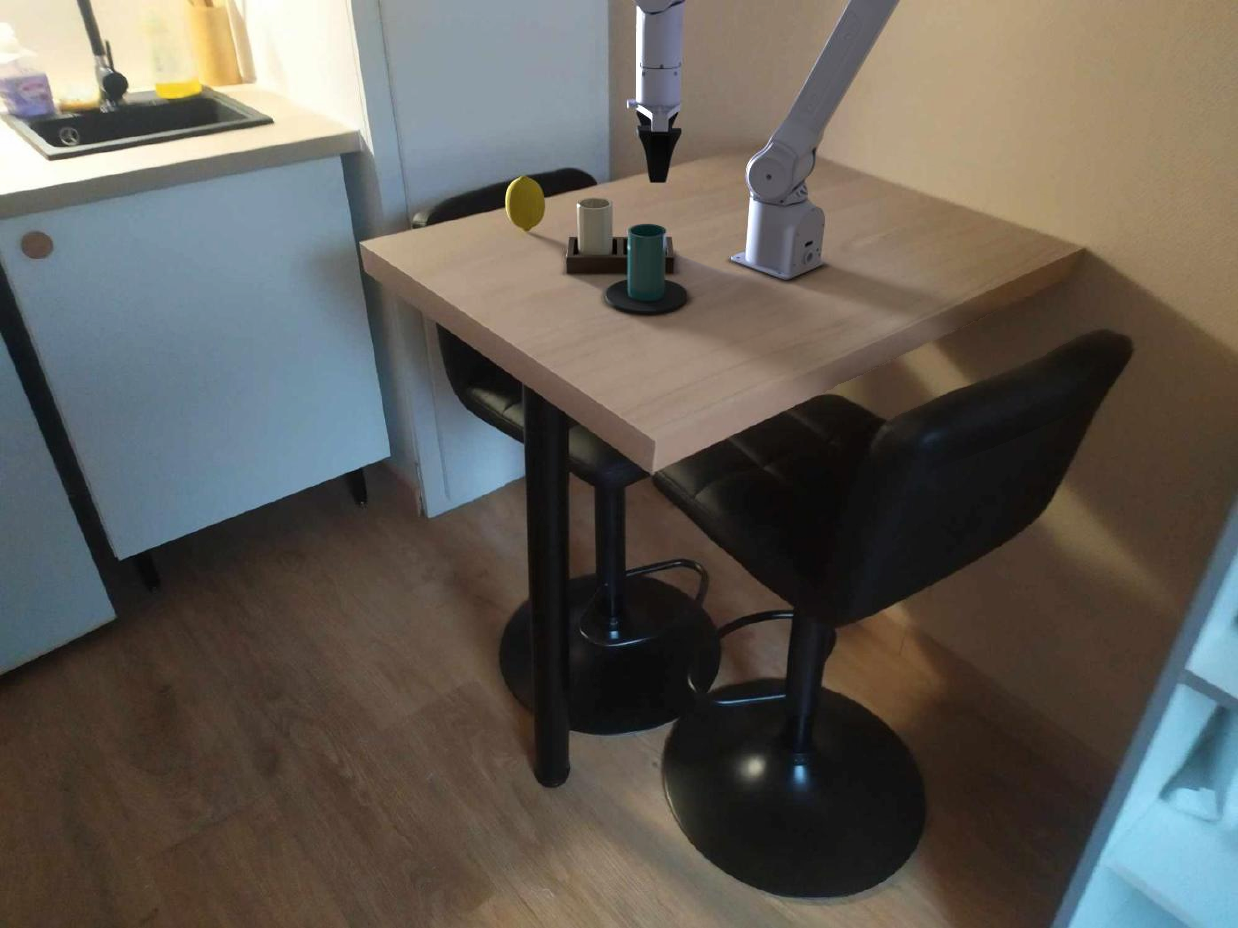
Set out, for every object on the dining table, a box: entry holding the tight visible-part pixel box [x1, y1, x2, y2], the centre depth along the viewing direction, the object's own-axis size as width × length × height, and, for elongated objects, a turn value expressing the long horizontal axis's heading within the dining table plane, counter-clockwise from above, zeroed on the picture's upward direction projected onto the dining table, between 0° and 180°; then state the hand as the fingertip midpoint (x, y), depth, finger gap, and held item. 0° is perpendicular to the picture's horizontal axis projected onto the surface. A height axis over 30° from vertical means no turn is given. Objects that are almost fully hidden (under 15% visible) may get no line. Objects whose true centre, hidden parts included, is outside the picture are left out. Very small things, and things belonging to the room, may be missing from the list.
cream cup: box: [576, 197, 614, 255], centre depth 120 cm, size 4×4×8 cm
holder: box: [565, 236, 675, 274], centre depth 122 cm, size 7×14×2 cm, turn 90°
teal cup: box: [627, 223, 667, 301], centre depth 111 cm, size 4×4×8 cm
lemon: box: [505, 174, 546, 233], centre depth 130 cm, size 6×6×8 cm
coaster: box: [605, 278, 688, 316], centre depth 113 cm, size 10×10×1 cm
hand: (656, 173), depth 124 cm, fingers open, 7 cm apart
